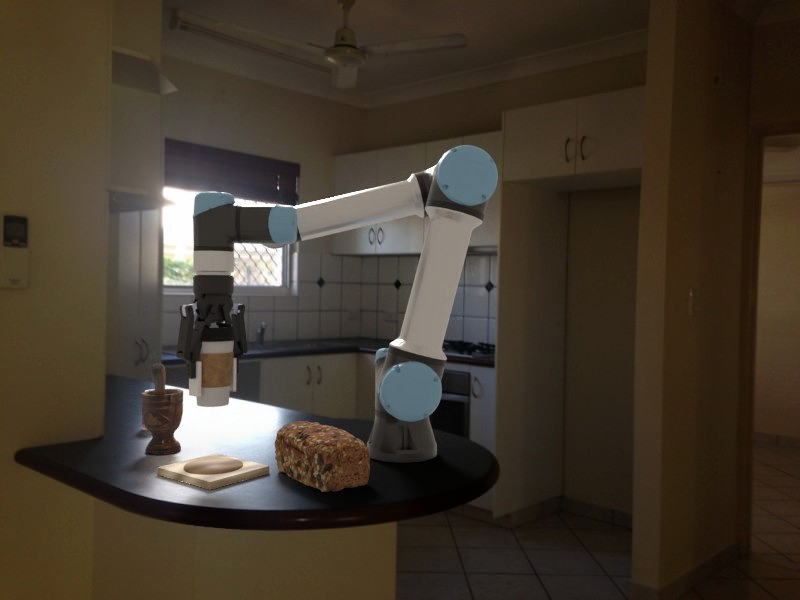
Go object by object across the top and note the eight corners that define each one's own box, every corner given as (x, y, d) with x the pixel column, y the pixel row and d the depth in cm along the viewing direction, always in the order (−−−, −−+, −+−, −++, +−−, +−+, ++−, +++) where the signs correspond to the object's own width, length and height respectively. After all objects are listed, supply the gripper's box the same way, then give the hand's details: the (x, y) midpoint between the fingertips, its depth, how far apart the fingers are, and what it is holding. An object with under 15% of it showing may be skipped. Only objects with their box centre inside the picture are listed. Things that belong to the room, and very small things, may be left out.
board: (269, 473, 134) (269, 464, 134) (209, 490, 122) (209, 480, 122) (216, 460, 143) (216, 451, 143) (157, 474, 132) (157, 465, 132)
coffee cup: (223, 409, 128) (224, 328, 127) (181, 407, 129) (182, 327, 129) (242, 401, 136) (243, 325, 136) (203, 399, 138) (203, 324, 137)
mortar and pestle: (191, 456, 147) (191, 362, 146) (148, 461, 142) (148, 364, 142) (178, 445, 157) (178, 357, 156) (138, 449, 152) (138, 359, 152)
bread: (273, 472, 135) (273, 421, 135) (320, 464, 141) (320, 415, 141) (322, 496, 120) (322, 439, 120) (372, 485, 127) (373, 431, 126)
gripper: (242, 275, 142) (242, 385, 143) (154, 273, 126) (154, 397, 127) (267, 275, 138) (266, 389, 138) (179, 273, 122) (179, 402, 122)
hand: (213, 393), depth 133 cm, fingers closed on coffee cup, 7 cm apart
